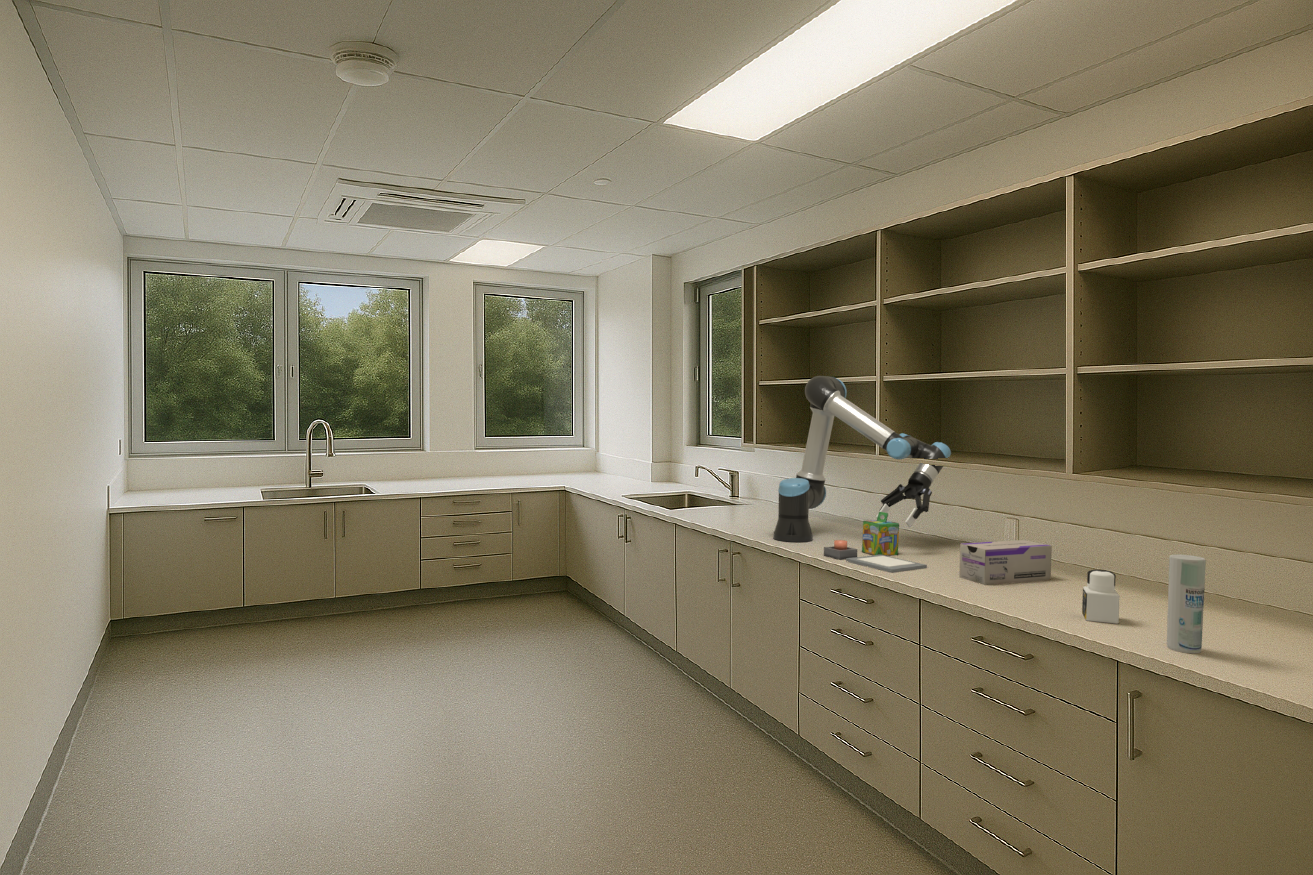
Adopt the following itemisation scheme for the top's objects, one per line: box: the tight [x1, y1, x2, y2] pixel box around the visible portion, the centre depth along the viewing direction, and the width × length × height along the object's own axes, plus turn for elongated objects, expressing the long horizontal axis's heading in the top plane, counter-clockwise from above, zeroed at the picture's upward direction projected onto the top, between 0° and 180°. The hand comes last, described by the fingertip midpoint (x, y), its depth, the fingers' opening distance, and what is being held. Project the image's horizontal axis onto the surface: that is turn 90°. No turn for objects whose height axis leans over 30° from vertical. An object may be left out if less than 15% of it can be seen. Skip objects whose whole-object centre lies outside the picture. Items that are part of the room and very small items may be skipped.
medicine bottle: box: [1081, 568, 1121, 625], centre depth 193 cm, size 7×7×12 cm
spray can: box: [1166, 554, 1207, 654], centre depth 168 cm, size 6×6×20 cm
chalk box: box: [861, 511, 900, 557], centre depth 277 cm, size 9×9×15 cm
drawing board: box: [845, 555, 928, 573], centre depth 257 cm, size 20×16×1 cm
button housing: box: [823, 545, 858, 561], centre depth 270 cm, size 8×8×3 cm
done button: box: [833, 539, 848, 550], centre depth 270 cm, size 4×4×3 cm
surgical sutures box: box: [958, 539, 1053, 586], centre depth 238 cm, size 25×11×11 cm, turn 109°
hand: (892, 522), depth 278 cm, fingers open, 13 cm apart
